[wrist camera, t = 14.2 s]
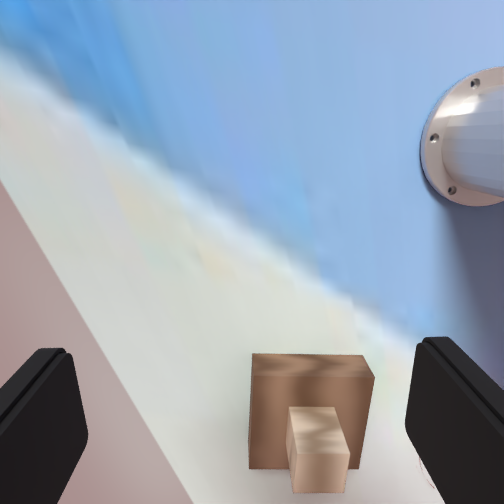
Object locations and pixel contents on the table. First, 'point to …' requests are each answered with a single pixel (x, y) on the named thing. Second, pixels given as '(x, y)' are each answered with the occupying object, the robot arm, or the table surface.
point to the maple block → (316, 450)
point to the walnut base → (305, 401)
